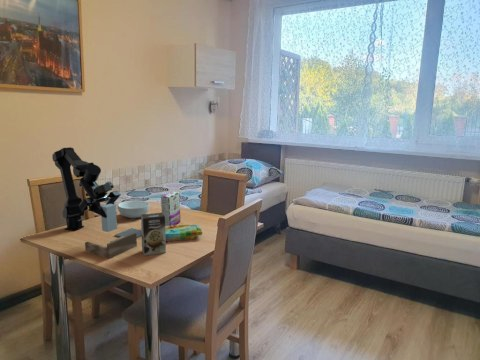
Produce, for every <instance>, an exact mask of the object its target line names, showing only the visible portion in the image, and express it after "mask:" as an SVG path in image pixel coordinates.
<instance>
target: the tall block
mask: <svg viewBox="0 0 480 360" xmlns="http://www.w3.org/2000/svg"><path fill="white" fill-rule="evenodd" d="M114 204H115V203H114ZM114 204H107V205H106V204H104V205H100V206H101V207H102V209H103V210H104V212H105V214H106V215H107V217H106V218H104V217H102V216H100V217H101V230H102V232H107V233H110V232H112V231H115V230H117V229H118V222H117V214H116V213H117V208H116V207H117V205H116V204H115V205H114Z"/></svg>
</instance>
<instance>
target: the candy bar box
mask: <svg viewBox="0 0 480 360" xmlns="http://www.w3.org/2000/svg"><path fill="white" fill-rule="evenodd" d="M180 196H181V195H180V192H179V191H170V192H168V193H165V194H164V195H161V196H160V205H161V213H163V214H164V216H165V226H171V225H179V223H181V204H180V203H181V200H180V199H181V198H180Z"/></svg>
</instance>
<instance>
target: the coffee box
mask: <svg viewBox="0 0 480 360" xmlns="http://www.w3.org/2000/svg"><path fill="white" fill-rule="evenodd" d="M140 226H141V229H140V230H142V236H141V251H142V253H143V256H152V255H160V254H164V253H167V252H166V251H167V248H166V247H167V246H166V245H167V244H166V242H167V241H166V236H165V216H164V214H163V213H162V212H156V213H155V212H153V213H146V214H141V217H140Z"/></svg>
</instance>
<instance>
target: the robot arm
mask: <svg viewBox="0 0 480 360" xmlns="http://www.w3.org/2000/svg"><path fill="white" fill-rule="evenodd" d="M52 161H53V162H54V165H55V167H57V169H59V172H60V174H61V180H62V184H63V188H64V193H65V198H66V199H65V202H64V203H63V206H64V207H63V210H62V217H63V218H64V219H66V220H65V221H66V227H65V228H64V230H66V231H67V230H68V231H75V232H76V231H77V230H80V229H82V228H84V227H85V225H83V220H82V217H84V216H85V211H87V210H88V212H92V213H94V214H97V215H99V216H100V217H101V216H102V217H104V218H106V217H107V215H106V214H105V212H104V210H103V209H102V207H101V206H102V205H101V203H103V202H105V205H107V204H114V205H116V204H115V202H116V201H117V200H118V199H119V198H120V196H121V193H120V191H119V190H113V188H114V184H113V182H112V181H111V180H110V181H107V182H105V183H104V184H98V183H97V180H98V179H99V176H101V175H100V174H101V172H102V168H101V167H99V165H96V164H95V163H94V162H87V161H85V160H83V159H81V157H80V156H79V155H78V154H77V152H76V151H75V149H74V148H73V147H72V146H71V147H62V148H60V149H59V150H56V151H55V152H53V153H52ZM71 167H72V169H71ZM73 175H74V176H75V178H76V179H77V178H78V179H79V178H80V180H79V183H78V185H79V187H82V189H83V190H84V191H85V193H86V194H85V196H86V197H87V198H83V199H82V198H81V197H79V196H78V194H77V192H76V191H77V190H76V186H75V183H74V178H73ZM112 190H113V191H112ZM110 191H111V192H110ZM108 192H110V193H109V194H108ZM106 195H107V196H106ZM116 215H117V212H116Z"/></svg>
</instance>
